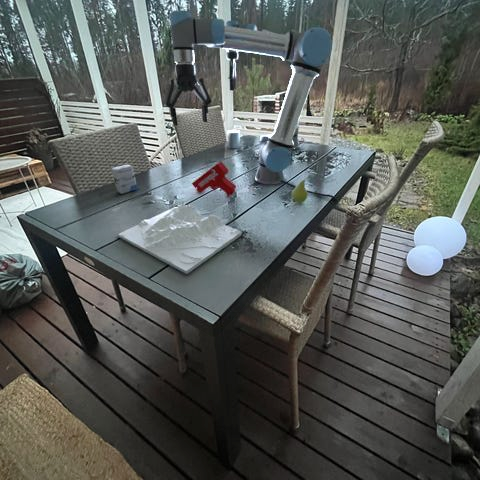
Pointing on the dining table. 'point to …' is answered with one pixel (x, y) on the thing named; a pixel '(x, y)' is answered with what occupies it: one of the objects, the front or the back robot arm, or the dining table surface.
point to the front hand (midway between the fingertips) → (190, 123)
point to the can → (233, 139)
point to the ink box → (124, 178)
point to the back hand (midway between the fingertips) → (233, 89)
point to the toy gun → (215, 180)
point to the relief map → (181, 237)
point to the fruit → (300, 192)
